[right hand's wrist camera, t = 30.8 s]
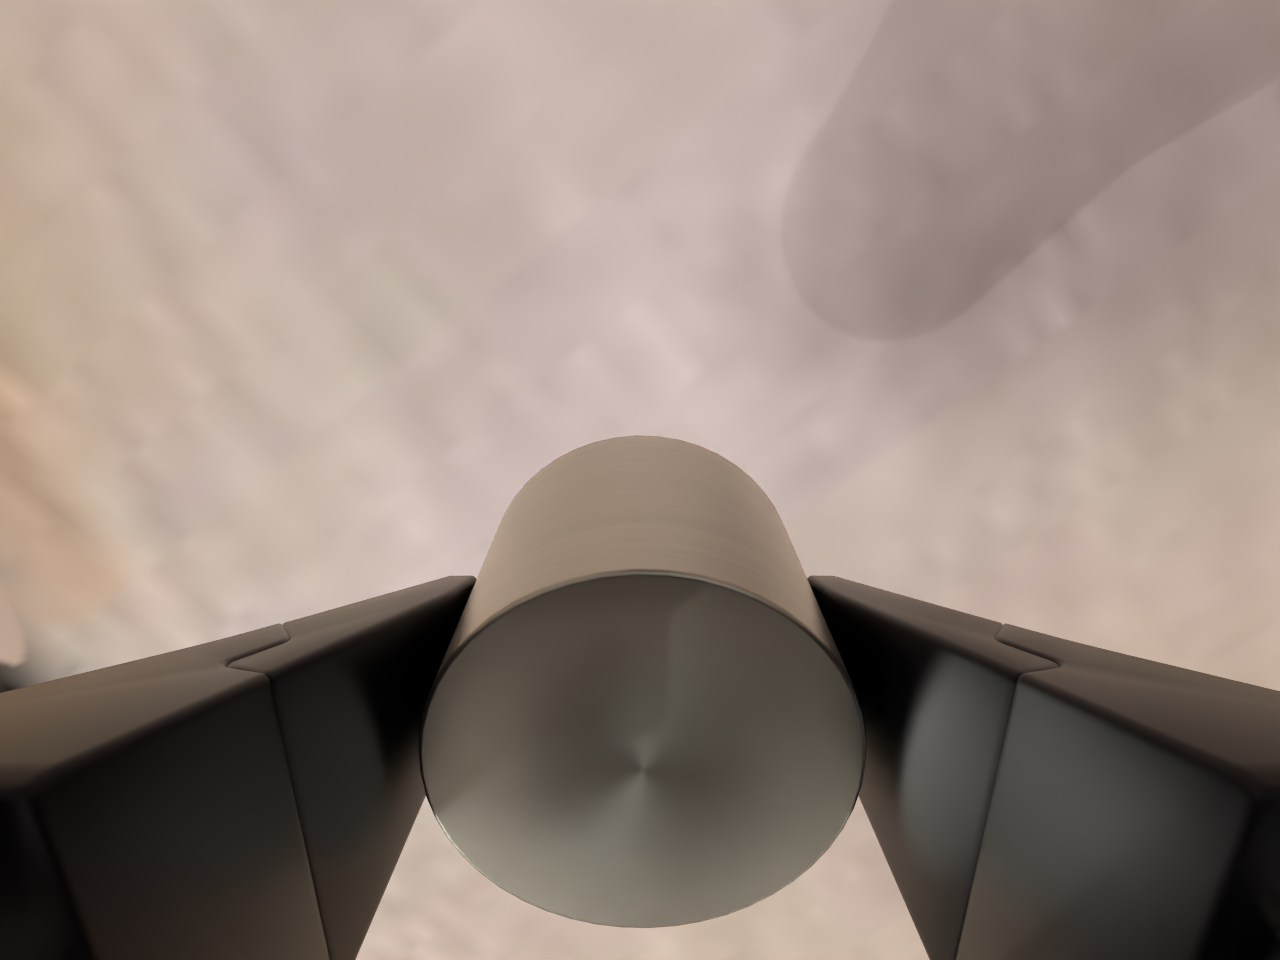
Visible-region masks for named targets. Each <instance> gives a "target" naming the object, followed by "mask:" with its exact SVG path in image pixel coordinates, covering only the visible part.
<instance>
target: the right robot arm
mask: <svg viewBox="0 0 1280 960" xmlns="http://www.w3.org/2000/svg"><path fill="white" fill-rule="evenodd" d="M476 580H477V579H476V578H475V577H474V576H448V577H445V578H441V579H438V580H434V581H431V582H427V583H424V584H420V585H417V586H413V587H410V588H406V589H403V590H399V591H395V592H392V593H388V594H385V595H381V596H378V597H374V598H371V599H367V600H364V601H360V602H357V603H353V604H350V605H346V606H343V607H339V608H335V609H332V610H328V611H325V612H321V613H318V614H314V615H311V616H307V617H304V618H300V619H297V620H293V621H290V622H286V623H284V624H283V625H281V624H275V625H272V626H268V627H265V628H261V629H258V630H254V631H250V632H247V633H243V634H239V635H235V636H232V637H228V638H224V639H220V640H216V641H213V642H209V643H205V644H201V645H197V646H193V647H189V648H185V649H181V650H177V651H173V652H169V653H164V654H160V655H156V656H152V657H148V658H144V659H140V660H135V661H131V662H127V663H123V664H119V665H115V666H111V667H106V668H102V669H98V670H94V671H90V672H86V673H82V674H77V675H73V676H69V677H65V678H61V679H57V680H53V681H48V682H44V683H40V684H36V685H32V686H28V687H24V688H20V689H15V690H11V691H7V692H3V693H0V960H355V959H356V957H357V954H358V952H359V950H360V947H361V945H362V943H363V940H364V938H365V936H366V933H367V931H368V929H369V926H370V924H371V922H372V919H373V917H374V915H375V912H376V910H377V908H378V905H379V903H380V901H381V898H382V896H383V894H384V891H385V889H386V887H387V884H388V882H389V880H390V878H391V875H392V873H393V871H394V868H395V866H396V864H397V861H398V859H399V857H400V854H401V852H402V850H403V847H404V845H405V843H406V840H407V838H408V836H409V833H410V831H411V829H412V826H413V824H414V822H415V819H416V817H417V815H418V812H419V810H420V808H421V805H422V803H423V801H424V798H425V796H426V793H425V789H424V785H423V781H422V777H421V773H420V763H419V752H418V743H419V730H420V722H421V718H422V714H423V710H424V706H425V702H426V699H427V697H428V694H429V692H430V690H431V687H432V685H433V682H434V680H435V678H436V675H437V673H438V670H439V668H440V666H441V663H442V661H443V659H444V656H445V654H446V651H447V649H448V647H449V644H450V642H451V640H452V637H453V635H454V632H455V630H456V628H457V625H458V623H459V620H460V618H461V616H462V613H463V611H464V609H465V606H466V604H467V601H468V599H469V597H470V594H471V592H472V589H473V587H474V585H475V582H476ZM807 580H808V582H809V584H810V587H811V589H812V591H813V593H814V596H815V598H816V600H817V603H818V605H819V607H820V610H821V612H822V614H823V616H824V619H825V621H826V623H827V626H828V628H829V630H830V633H831V635H832V637H833V639H834V642H835V644H836V646H837V649H838V651H839V653H840V656H841V658H842V660H843V662H844V665H845V667H846V669H847V672H848V674H849V676H850V679H851V681H852V683H853V685H854V688H855V690H856V693H857V696H858V699H859V702H860V706H861V709H862V712H863V716H864V723H865V730H866V737H867V741H866V764H865V770H864V775H863V781H862V786H861V789H860V792H859V798H860V800H861V802H862V804H863V807H864V809H865V811H866V814H867V816H868V818H869V821H870V823H871V825H872V827H873V830H874V832H875V834H876V837H877V839H878V841H879V844H880V846H881V848H882V850H883V853H884V855H885V857H886V860H887V862H888V864H889V867H890V869H891V871H892V873H893V876H894V878H895V880H896V883H897V885H898V887H899V890H900V892H901V894H902V896H903V899H904V901H905V903H906V906H907V908H908V910H909V913H910V915H911V917H912V920H913V922H914V924H915V926H916V929H917V931H918V933H919V936H920V938H921V940H922V943H923V945H924V947H925V949H926V952H927V954H928V956H929V959H930V960H1280V691H1276V690H1272V689H1268V688H1263V687H1259V686H1255V685H1251V684H1247V683H1243V682H1238V681H1234V680H1230V679H1226V678H1222V677H1218V676H1213V675H1209V674H1205V673H1201V672H1197V671H1192V670H1188V669H1184V668H1180V667H1176V666H1172V665H1167V664H1163V663H1159V662H1155V661H1151V660H1147V659H1142V658H1138V657H1134V656H1130V655H1126V654H1122V653H1117V652H1113V651H1109V650H1105V649H1101V648H1097V647H1093V646H1089V645H1085V644H1081V643H1077V642H1073V641H1069V640H1065V639H1061V638H1057V637H1054V636H1050V635H1046V634H1043V633H1039V632H1035V631H1031V630H1028V629H1024V628H1020V627H1017V626H1013V625H1010V624H1004V625H1002V624H1001V623H999V622H995V621H992V620H988V619H985V618H981V617H978V616H974V615H970V614H967V613H963V612H960V611H956V610H953V609H949V608H946V607H942V606H938V605H935V604H931V603H928V602H924V601H921V600H917V599H914V598H910V597H906V596H903V595H899V594H896V593H892V592H889V591H885V590H881V589H878V588H874V587H871V586H867V585H864V584H860V583H857V582H853V581H849V580H846V579H842V578H839V577H835V576H810V577H808V578H807Z"/></svg>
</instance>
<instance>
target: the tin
mask: <svg viewBox="0 0 1280 960" xmlns="http://www.w3.org/2000/svg"><path fill="white" fill-rule="evenodd" d="M866 741H867V737H866V730H865V723H864V716H863V712H862V709H861V706H860V702H859V699H858V696H857V693H856V690H855V688H854V685H853V683H852V681H851V679H850V676H849V674H848V672H847V669H846V667H845V665H844V662H843V660H842V658H841V656H840V653H839V651H838V649H837V646H836V644H835V642H834V639H833V637H832V635H831V633H830V630H829V628H828V626H827V623H826V621H825V619H824V616H823V614H822V612H821V610H820V607H819V605H818V603H817V600H816V598H815V596H814V593H813V591H812V589H811V587H810V584H809V582H808V580H807V577H806V575H805V573H804V570H803V568H802V566H801V564H800V561H799V559H798V557H797V554H796V552H795V550H794V547H793V545H792V543H791V540H790V538H789V536H788V534H787V531H786V529H785V527H784V524H783V522H782V520H781V518H780V516H779V514H778V512H777V510H776V508H775V506H774V505H773V504H772V502H771V501H770V499H769V498H768V496H767V495H766V494H765V492H764V491H763V490H762V489H761V488H760V487H759V485H758V484H757V483H756V482H755V481H754V480H753V479H752V478H751V477H750V476H749V475H747V474H746V473H745V472H744V471H743V470H741V469H740V468H739V467H738V466H736V465H735V464H733V463H732V462H730V461H729V460H727V459H725V458H724V457H722V456H720V455H719V454H717V453H714V452H712V451H710V450H708V449H705V448H703V447H701V446H698V445H695V444H691V443H688V442H685V441H681V440H677V439H671V438H665V437H658V436H628V437H617V438H612V439H607V440H603V441H598V442H594V443H591V444H589V445H586V446H583V447H580V448H577V449H575V450H573V451H571V452H569V453H567V454H565V455H563V456H561V457H559V458H557V459H556V460H554V461H553V462H552V463H550V464H549V465H547V466H546V467H544V468H543V469H541V470H540V471H539V472H538V473H537V474H536V475H535V476H534V477H532V478H531V479H530V480H529V481H528V482H527V483H526V484H525V485H524V487H523V488H522V489H521V490H520V491H519V493H518V494H517V495H516V496H515V497H514V499H513V501H512V502H511V504H510V505H509V507H508V509H507V510H506V512H505V514H504V516H503V518H502V521H501V523H500V525H499V528H498V530H497V532H496V535H495V537H494V539H493V542H492V544H491V547H490V549H489V551H488V554H487V556H486V559H485V561H484V563H483V566H482V568H481V570H480V573H479V575H478V578H477V580H476V582H475V585H474V587H473V589H472V592H471V594H470V597H469V599H468V601H467V604H466V606H465V609H464V611H463V613H462V616H461V618H460V620H459V623H458V625H457V628H456V630H455V632H454V635H453V637H452V640H451V642H450V644H449V647H448V649H447V651H446V654H445V656H444V659H443V661H442V663H441V666H440V668H439V670H438V673H437V675H436V678H435V680H434V682H433V685H432V687H431V690H430V692H429V694H428V697H427V699H426V702H425V706H424V710H423V714H422V718H421V722H420V730H419V743H418V752H419V763H420V773H421V777H422V781H423V785H424V789H425V793H426V797H427V799H428V801H429V804H430V806H431V808H432V811H433V813H434V815H435V818H436V819H437V821H438V823H439V824H440V826H441V828H442V829H443V831H444V832H445V834H446V836H447V837H448V839H449V840H450V841H451V842H452V844H453V845H454V846H455V847H456V849H457V850H458V851H459V852H460V853H461V855H462V856H463V857H464V858H465V859H466V860H467V861H468V862H469V863H470V864H472V865H473V866H474V867H475V868H476V869H477V870H478V871H479V872H480V873H481V874H483V875H484V876H485V877H487V878H488V879H489V880H491V881H492V882H493V883H495V884H496V885H498V886H499V887H500V888H502V889H504V890H505V891H507V892H509V893H511V894H512V895H514V896H516V897H518V898H519V899H521V900H523V901H525V902H527V903H530V904H532V905H534V906H536V907H539V908H541V909H543V910H546V911H549V912H552V913H555V914H558V915H561V916H564V917H567V918H570V919H575V920H579V921H584V922H589V923H593V924H599V925H608V926H616V927H633V928H654V927H668V926H678V925H684V924H690V923H696V922H701V921H705V920H709V919H713V918H716V917H720V916H724V915H727V914H730V913H732V912H735V911H738V910H740V909H743V908H746V907H748V906H751V905H753V904H755V903H757V902H759V901H761V900H763V899H765V898H767V897H769V896H771V895H773V894H774V893H776V892H777V891H779V890H780V889H782V888H783V887H785V886H787V885H788V884H790V883H791V882H793V881H794V880H795V879H797V878H798V877H799V876H800V875H801V874H803V873H804V872H805V871H806V870H808V869H809V868H810V867H811V866H812V865H813V864H814V863H815V862H816V861H817V860H818V859H819V858H820V857H821V856H822V855H823V854H824V853H825V852H826V851H827V850H828V849H829V847H830V846H831V844H832V843H833V842H834V840H835V839H836V838H837V836H838V835H839V833H840V832H841V831H842V829H843V828H844V826H845V824H846V822H847V820H848V818H849V816H850V814H851V813H852V811H853V809H854V806H855V803H856V800H857V798H858V795H859V792H860V789H861V786H862V781H863V775H864V770H865V764H866Z"/></svg>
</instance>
